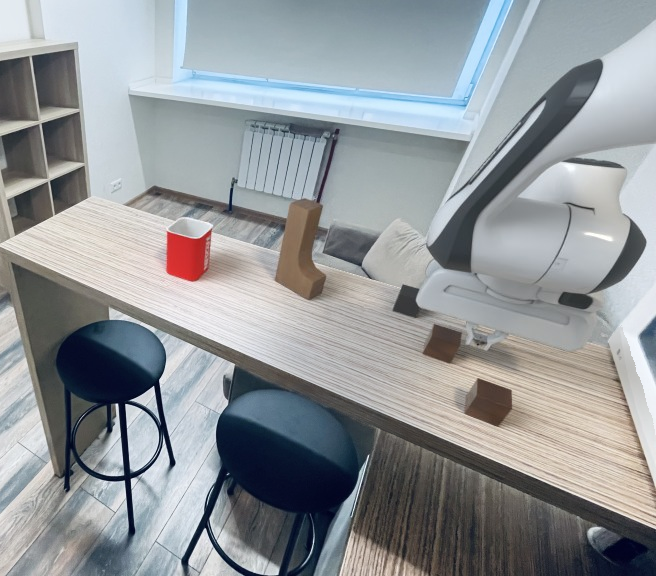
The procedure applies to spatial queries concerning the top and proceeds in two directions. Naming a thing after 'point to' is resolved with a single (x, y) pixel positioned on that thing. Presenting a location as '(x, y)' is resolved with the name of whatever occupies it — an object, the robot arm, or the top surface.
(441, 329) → the middle cube
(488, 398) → the near cube
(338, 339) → the top surface
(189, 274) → the mug
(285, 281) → the wooden block
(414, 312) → the cube
